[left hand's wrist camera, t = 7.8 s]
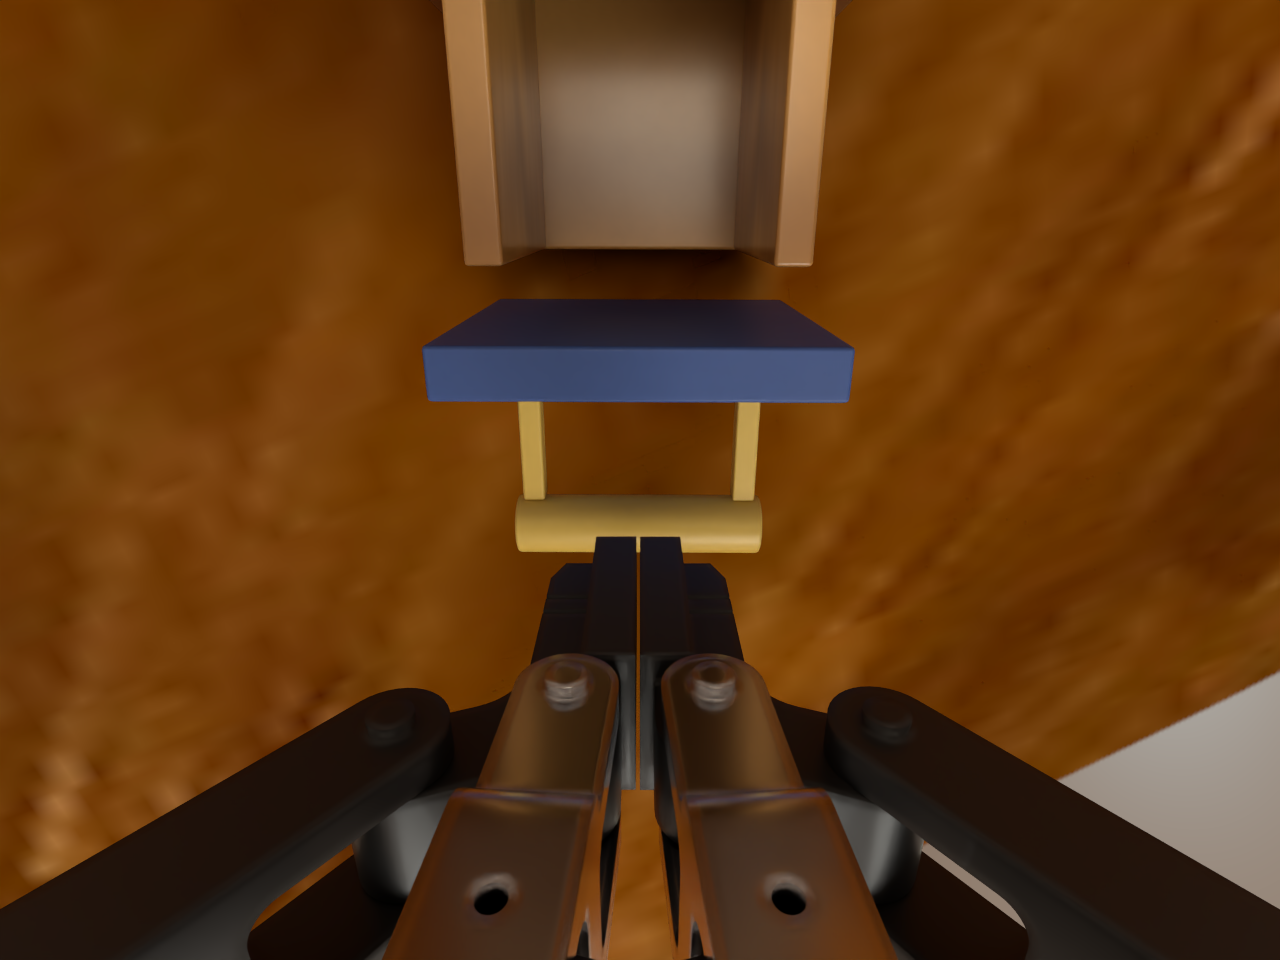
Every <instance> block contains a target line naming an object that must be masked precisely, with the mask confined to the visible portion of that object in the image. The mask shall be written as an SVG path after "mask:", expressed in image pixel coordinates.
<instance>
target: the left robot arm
mask: <svg viewBox="0 0 1280 960" xmlns="http://www.w3.org/2000/svg"><path fill="white" fill-rule="evenodd" d="M732 611H733V610H732V606H731V601H730V599H729V593H728V588H727V584H726V579H725V578H724V577H723V576H722V575H721V574H720V573H719V572H718V571H717V570H716V569H715V568H714V567H713V566H712V565H711V564H683V555H682V547H681V539H680V537H640V790H654V807H655V817H656V819H657V822H658V824H659V845H660V853H661V862H662V870H663V879H664V887H665V896H666V904H667V913H668V921H669V930H670V938H671V947H672V955H673V960H1280V909H1278V908H1276V907H1275V906H1273V905H1271V904H1269V903H1268V902H1266V901H1264V900H1263V899H1261V898H1259V897H1257V896H1256V895H1254V894H1252V893H1250V892H1249V891H1247V890H1245V889H1244V888H1242V887H1240V886H1238V885H1237V884H1235V883H1233V882H1231V881H1230V880H1228V879H1226V878H1224V877H1223V876H1221V875H1219V874H1218V873H1216V872H1214V871H1212V870H1211V869H1209V868H1207V867H1205V866H1204V865H1202V864H1200V863H1199V862H1197V861H1195V860H1193V859H1192V858H1190V857H1188V856H1186V855H1185V854H1183V853H1181V852H1179V851H1178V850H1176V849H1174V848H1173V847H1171V846H1169V845H1167V844H1166V843H1164V842H1162V841H1160V840H1159V839H1157V838H1155V837H1153V836H1152V835H1150V834H1148V833H1147V832H1145V831H1143V830H1141V829H1140V828H1138V827H1136V826H1134V825H1133V824H1131V823H1129V822H1127V821H1126V820H1124V819H1122V818H1121V817H1119V816H1117V815H1115V814H1114V813H1112V812H1110V811H1108V810H1107V809H1105V808H1103V807H1102V806H1100V805H1098V804H1096V803H1095V802H1093V801H1091V800H1089V799H1088V798H1086V797H1084V796H1083V795H1081V794H1079V793H1077V792H1076V791H1074V790H1072V789H1070V788H1069V787H1067V786H1065V785H1063V784H1062V783H1060V782H1058V781H1057V780H1055V779H1053V778H1051V777H1050V776H1048V775H1046V774H1044V773H1043V772H1041V771H1039V770H1037V769H1036V768H1034V767H1032V766H1031V765H1029V764H1027V763H1025V762H1024V761H1022V760H1020V759H1018V758H1017V757H1015V756H1013V755H1012V754H1010V753H1008V752H1006V751H1005V750H1003V749H1001V748H999V747H998V746H996V745H994V744H992V743H991V742H989V741H987V740H986V739H984V738H982V737H980V736H979V735H977V734H975V733H973V732H972V731H970V730H968V729H966V728H965V727H963V726H961V725H960V724H958V723H956V722H954V721H953V720H951V719H949V718H947V717H946V716H944V715H942V714H941V713H939V712H937V711H935V710H934V709H932V708H930V707H928V706H927V705H925V704H923V703H921V702H920V701H918V700H916V699H914V698H912V697H910V696H908V695H906V694H903V693H901V692H898V691H895V690H891V689H887V688H881V687H857V688H852V689H848V690H845V691H843V692H841V693H839V694H838V695H837V696H836V697H834V698H833V700H832V701H831V702H830V704H829V707H828V712H827V713H823V712H818V711H814V710H810V709H805V708H801V707H797V706H793V705H790V704H787V703H784V702H782V701H779V700H777V699H775V698H773V697H771V696H770V695H769V692H768V690H767V687H766V684H765V682H764V680H763V678H762V676H761V675H760V674H759V673H758V671H756V670H755V669H754V668H753V667H752V666H750V665H749V664H747V663H746V662H744V658H743V654H742V649H741V645H740V641H739V636H738V632H737V628H736V623H735V619H734V614H733V612H732ZM636 659H637V543H636V536H597V537H596V542H595V550H594V557H593V563H566V564H565V565H564V566H563V567H562V568H561V569H560V570H559V571H558V572H557V573H556V574H555V575H554V576H553V577H552V578H551V581H550V585H549V589H548V593H547V599H546V602H545V606H544V613H543V614H542V618H541V623H540V627H539V631H538V635H537V639H536V644H535V648H534V652H533V656H532V660H531V664H530V666H528V667H527V668H526V669H525V670H524V671H522V673H521V674H520V675H519V676H518V678H517V680H516V682H515V684H514V687H513V690H512V691H511V692H510V693H508V694H507V695H505V696H504V697H502V698H500V699H498V700H496V701H493V702H490V703H488V704H485V705H481V706H477V707H473V708H469V709H464V710H460V711H456V712H451V713H450V710H449V707H448V705H447V703H446V702H445V701H444V699H442V698H441V697H440V696H439V695H437V694H435V693H433V692H431V691H428V690H424V689H418V688H401V689H394V690H388V691H385V692H381V693H378V694H375V695H373V696H370V697H368V698H366V699H364V700H362V701H360V702H359V703H357V704H355V705H353V706H352V707H350V708H348V709H346V710H345V711H343V712H341V713H339V714H338V715H336V716H334V717H333V718H331V719H329V720H327V721H326V722H324V723H322V724H320V725H319V726H317V727H315V728H313V729H312V730H310V731H308V732H307V733H305V734H303V735H301V736H300V737H298V738H296V739H294V740H293V741H291V742H289V743H288V744H286V745H284V746H282V747H281V748H279V749H277V750H275V751H274V752H272V753H270V754H268V755H267V756H265V757H263V758H262V759H260V760H258V761H256V762H255V763H253V764H251V765H249V766H248V767H246V768H244V769H242V770H241V771H239V772H237V773H236V774H234V775H232V776H230V777H229V778H227V779H225V780H223V781H222V782H220V783H218V784H217V785H215V786H213V787H211V788H210V789H208V790H206V791H204V792H203V793H201V794H199V795H197V796H196V797H194V798H192V799H191V800H189V801H187V802H185V803H184V804H182V805H180V806H178V807H177V808H175V809H173V810H171V811H170V812H168V813H166V814H165V815H163V816H161V817H159V818H158V819H156V820H154V821H152V822H151V823H149V824H147V825H146V826H144V827H142V828H140V829H139V830H137V831H135V832H133V833H132V834H130V835H128V836H126V837H125V838H123V839H121V840H120V841H118V842H116V843H114V844H113V845H111V846H109V847H107V848H106V849H104V850H102V851H100V852H99V853H97V854H95V855H94V856H92V857H90V858H88V859H87V860H85V861H83V862H81V863H80V864H78V865H76V866H75V867H73V868H71V869H69V870H68V871H66V872H64V873H62V874H61V875H59V876H57V877H55V878H54V879H52V880H50V881H49V882H47V883H45V884H43V885H42V886H40V887H38V888H36V889H35V890H33V891H31V892H29V893H28V894H26V895H24V896H23V897H21V898H19V899H17V900H16V901H14V902H12V903H10V904H9V905H7V906H5V907H4V908H2V909H0V960H607V955H608V947H609V938H610V930H611V921H612V913H613V904H614V896H615V887H616V879H617V870H618V862H619V853H620V845H621V789H635V788H636ZM924 840H925V841H926V842H928V843H929V844H930V845H932V846H933V847H934V848H936V849H937V850H938V851H940V852H941V853H943V854H944V855H945V856H947V857H948V858H949V859H951V860H952V861H953V862H955V863H956V864H957V865H959V866H960V867H962V868H963V869H964V870H966V871H967V872H968V873H970V874H971V875H972V876H974V877H975V878H977V879H978V880H979V881H981V882H982V883H983V884H985V885H986V886H987V887H989V888H990V889H991V890H993V891H994V892H996V893H997V894H998V895H1000V896H1001V897H1002V898H1003V899H1004V900H1006V901H1007V902H1008V903H1009V904H1010V905H1011V906H1012V908H1013V909H1014V910H1015V911H1016V913H1017V914H1018V915H1019V917H1020V918H1021V920H1022V922H1023V923H1024V925H1025V928H1026V929H1025V928H1024V927H1022V926H1021V925H1020V924H1018V923H1017V922H1016V921H1014V920H1013V919H1012V918H1010V917H1009V916H1008V915H1006V914H1005V913H1004V912H1002V911H1001V910H1000V909H998V908H997V907H996V906H994V905H993V904H992V903H990V902H989V901H988V900H986V899H985V898H984V897H982V896H981V895H980V894H978V893H977V892H976V891H974V890H973V889H972V888H970V887H969V886H968V885H966V884H965V883H964V882H962V881H961V880H960V879H958V878H957V877H956V876H954V875H953V874H952V873H950V872H949V871H948V870H946V869H945V868H944V867H942V866H941V865H940V864H938V863H937V862H936V861H934V860H933V859H932V858H930V857H929V856H928V855H926V854H925V853H924V852H922V847H923V842H924ZM351 843H352V848H353V852H354V855H352V856H351V857H350V858H348V859H347V860H346V861H344V862H343V863H342V864H340V865H339V866H338V867H336V868H335V869H334V870H332V871H331V872H330V873H328V874H327V875H326V876H324V877H323V878H322V879H320V880H319V881H318V882H316V883H315V884H314V885H312V886H311V887H310V888H308V889H307V890H306V891H304V892H303V893H302V894H300V895H299V896H298V897H296V898H295V899H294V900H292V901H291V902H290V903H288V904H287V905H286V906H284V907H283V908H282V909H280V910H279V911H278V912H276V913H275V914H274V915H272V916H271V917H270V918H268V919H267V920H266V921H264V922H263V923H262V924H260V925H259V926H258V927H256V928H255V929H254V930H252V931H251V928H252V926H253V925H254V923H255V921H256V920H257V918H258V917H259V916H260V914H261V913H262V912H263V911H264V910H265V908H266V907H267V906H268V905H269V904H270V903H271V902H273V901H274V900H275V899H276V898H278V897H279V896H280V895H282V894H283V893H284V892H286V891H287V890H289V889H290V888H291V887H293V886H294V885H295V884H297V883H298V882H299V881H301V880H302V879H303V878H305V877H306V876H308V875H309V874H310V873H312V872H313V871H314V870H316V869H317V868H318V867H320V866H321V865H323V864H324V863H325V862H327V861H328V860H329V859H331V858H332V857H333V856H335V855H336V854H337V853H339V852H340V851H342V850H343V849H344V848H346V847H347V846H348V845H350V844H351ZM250 931H251V932H250Z"/></svg>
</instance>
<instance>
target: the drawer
mask: <svg viewBox="0 0 1280 960" xmlns="http://www.w3.org/2000/svg"><path fill="white" fill-rule="evenodd" d="M442 10H443V21H444V33H445V44H446V56H447V68H448V79H449V91H450V102H451V114H452V125H453V137H454V149H455V160H456V172H457V183H458V195H459V207H460V218H461V230H462V241H463V253H464V262H465V264H466V265H468V266H501V265H504V264H506V263H509V262H512V261H514V260H517V259H519V258H522V257H525V256H527V255H530V254H533V253H535V252H538V251H541V250H543V249H641V250H738V251H740V252H743V253H745V254H748V255H750V256H753V257H755V258H757V259H760V260H762V261H765V262H767V263H770V264H772V265H774V266H777V267H809V266H811V265H812V263H813V255H814V244H815V233H816V222H817V211H818V200H819V189H820V178H821V166H822V155H823V144H824V133H825V122H826V111H827V100H828V89H829V78H830V67H831V56H832V44H833V33H834V22H835V11H836V0H442ZM422 353H423V362H424V371H425V380H426V389H427V397H428V399H429V400H430V401H495V402H518V415H519V431H520V447H521V462H522V478H523V494H522V495H520V496H519V498H518V501H517V506H516V514H515V536H516V543H517V547H518V549H519V551H521V552H594V550H595V542H596V537H597V536H636V543H637V552H640V537H680V539H681V547H682V552H724V553H756V552H758V551H759V548H760V545H761V539H762V511H761V504H760V500H759V498H758V496H756V495H754V490H755V475H756V460H757V446H758V431H759V416H760V402H761V403H845V402H848V400H849V396H850V387H851V379H852V370H853V362H854V353H855V351H854V348H853V347H851V346H850V345H848V344H847V343H845V342H844V341H842V340H841V339H839V338H838V337H836V336H834V335H833V334H831V333H830V332H828V331H827V330H825V329H824V328H822V327H821V326H819V325H817V324H816V323H814V322H813V321H811V320H810V319H808V318H807V317H805V316H804V315H802V314H800V313H799V312H797V311H796V310H794V309H793V308H791V307H790V306H788V305H787V304H785V303H784V302H782V301H780V300H613V299H500V300H498V301H496V302H495V303H493V304H492V305H490V306H488V307H487V308H485V309H483V310H482V311H480V312H479V313H477V314H475V315H474V316H472V317H470V318H469V319H467V320H465V321H464V322H462V323H461V324H459V325H457V326H456V327H454V328H452V329H451V330H449V331H448V332H446V333H444V334H443V335H441V336H439V337H438V338H436V339H434V340H433V341H431V342H430V343H428V344H426V345H425V346H423V348H422ZM543 402H735V413H734V431H733V450H732V468H731V486H730V493H731V495H606V494H547V474H546V454H545V434H544V414H543Z"/></svg>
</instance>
